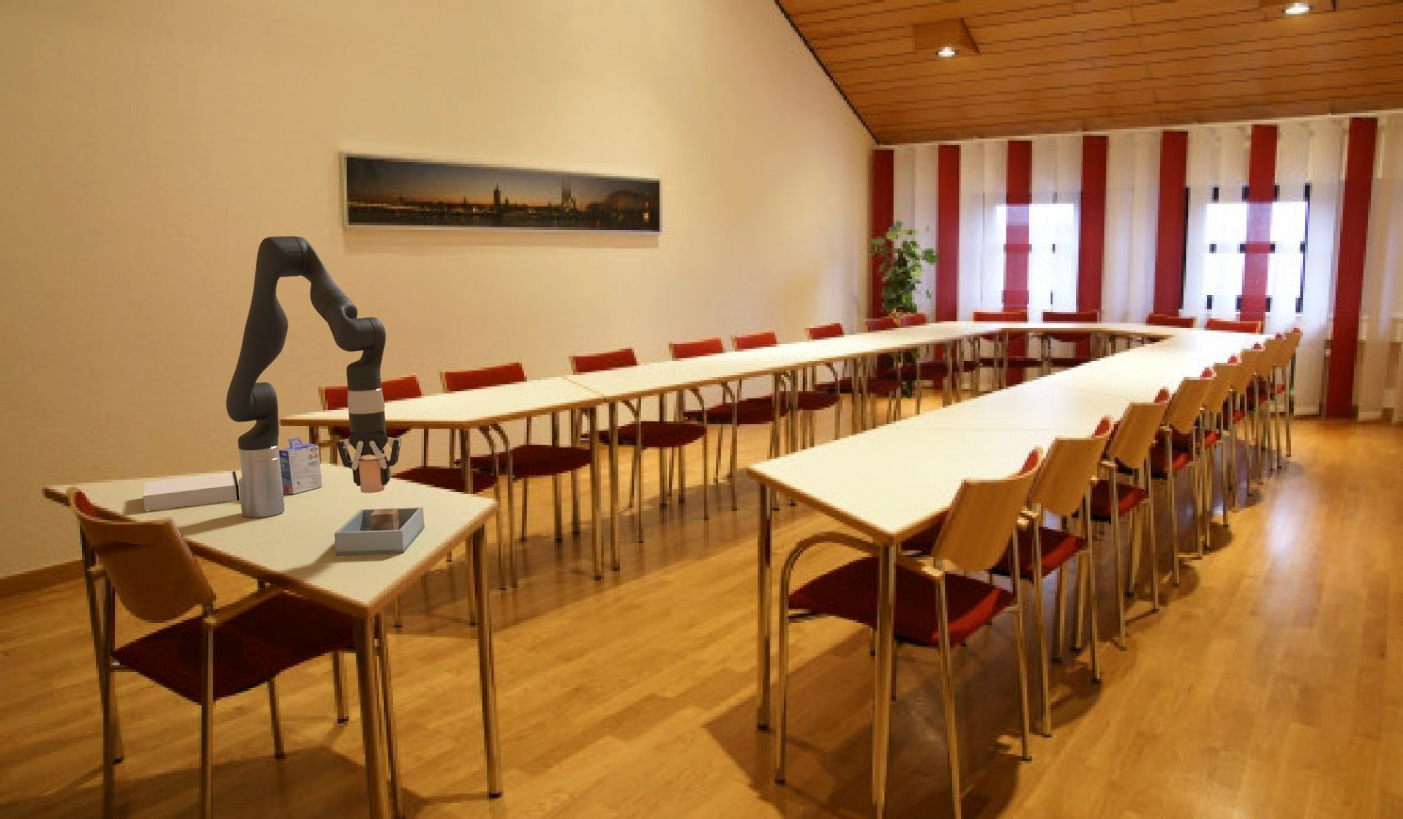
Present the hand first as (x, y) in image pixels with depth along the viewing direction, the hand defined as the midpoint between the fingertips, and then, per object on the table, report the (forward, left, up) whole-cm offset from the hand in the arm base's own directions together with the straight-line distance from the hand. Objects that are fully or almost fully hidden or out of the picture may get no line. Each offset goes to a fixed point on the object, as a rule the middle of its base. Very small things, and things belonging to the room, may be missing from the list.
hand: (372, 484), depth 223 cm
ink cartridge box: (-36, +56, -14) cm, 68 cm away
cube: (0, +8, -13) cm, 16 cm away
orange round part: (0, 0, -1) cm, 1 cm away
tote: (0, +4, -14) cm, 15 cm away
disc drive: (-63, +50, -15) cm, 82 cm away
